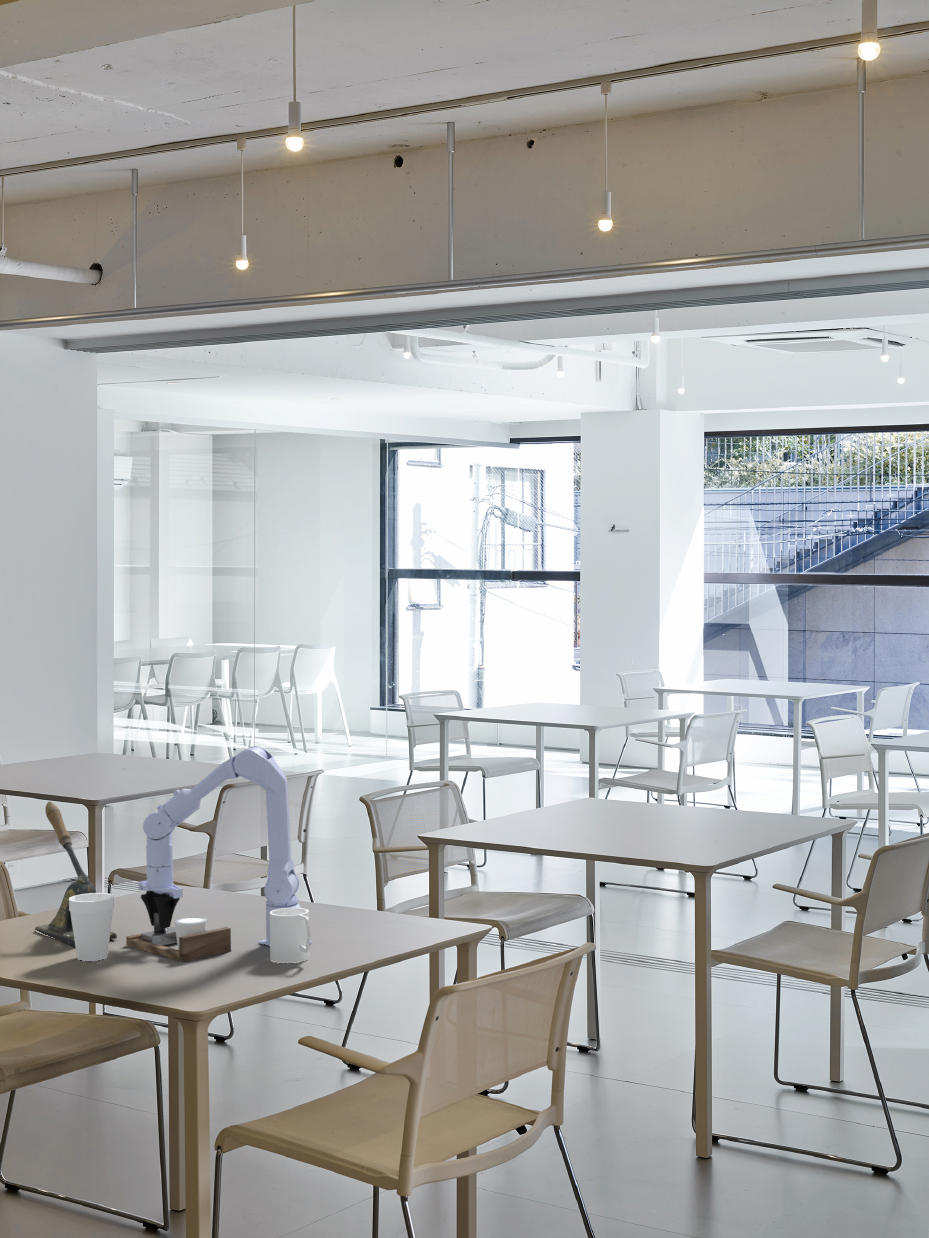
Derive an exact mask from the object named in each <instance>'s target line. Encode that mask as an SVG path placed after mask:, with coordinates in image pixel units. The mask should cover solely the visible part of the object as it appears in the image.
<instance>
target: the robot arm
mask: <svg viewBox="0 0 929 1238" xmlns="http://www.w3.org/2000/svg"><path fill="white" fill-rule="evenodd" d="M239 777H241V778H243V779H245V780H249V781H251V782H254V783H255V784H257V785H258V786H259V787H260V788H262V790H264V791H265V800H266V801H265V803H266V804H265V805H266V820H267V822H266V823H267V825H266V826H267V845H268V867H267V881H266V882H265V885H264V889H263V894H264V897H265V899H266V901H265V929H266V930H265V932H266V933H265V936H266V939H262V940H258V941H257V943H258V944H261V945H264V944H265V946H267V947H270V911H272V910H276V909H281V908H303V907H301V905H300V904H299V898H298V897H297V895H296V893H297V892H298V890H299V887H300V880H299V878H298V875H297V873H296V872H295V863H294V861H293V860H292V848H291V847H292V846H291V844H292V843H291V830H290V829H291V826H290V825H291V824H290V822H291V821H290V805H289V784H288V783H289V782H288V781H289V780H288V778H287V776H286V774H285V773H284V772H283V770H282V769H281V767H280V766H279V764H278V763H277V762H276V760H275V758H274V755H273V753H270V752H269V751H268V750H267V749H265V748H263V747H261V746H259V745H253V746H250V747H248V748H247V749H245V750H242V751H240V752H239V753H237V755H234V756H232V757H231V758H229V759H227V760H225V761H224V762H222V763H220V764H219V765H218V766H217V767H216V768H215V769H214V770H213V771H211V772H210V773H209V774H208V775H207V776H206V777H204V778H203V779H202V780H201V781H199V782H198V783H197V784H196V785H195V786H194V787H192V788H181V790H180V789H176V790H175V791H174V792H173V793H172V795H173V796H172V797H171V798H169V800H168V801H166V802H164V803H163V804H161V803H160V804H159V805H158V806H157V807H156V809H157V811H154V812H151V813H149V814H148V816H147V817H146V818H145V819H144V821H143V824H142V829H143V832H144V834H145V835H146V849H145V850H146V851H145V852H146V855H145V856H146V880H141V881H138V884H137V885H138V886H137V887H138V889H137V890H138V891H139V892H140V891H143V892H144V891H145V893H142V894H141V895H140V899H141V900H142V902H143V904H144V906H145V907H146V910H147V913H148V914H147V915H148V917H149V921H150V925H151V926H152V927H154V912H155V911H158V913H159V923H160V927H161V928H167V927H168V928H171V924H172V919H173V915H174V911H175V909H176V907H177V905H178V902H179V901H180V899H181V898H183V895H184V894H183V892H184V891H183V888H182V887H180V886H177V884H174V861H173V860H174V856H173V848H174V847H173V835H172V834H173V832H174V830H175V828H176V827H178V826H180V824H182V823H183V822H185V821H186V820H187V819H189V817H191V816H192V815H193V814H195V813H196V812H197V811H198V810H199V809H200V807H201V801H202V800H203V798H205V797H206V796H207V795H209V794H210V793H212V792H213V791H214V790H216V788H218V787H219V786H220V785H222V784H224V782H226V781H227V780H232V779H233V780H234V779H238V778H239ZM303 909H305V908H303ZM312 943H313V941H312V940H310V944H312Z"/></svg>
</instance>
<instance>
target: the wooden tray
mask: <svg viewBox="0 0 929 1238" xmlns="http://www.w3.org/2000/svg"><path fill="white" fill-rule="evenodd" d="M170 928H175V927H172V926H170ZM231 930H232V929H231V927H228V926H224V927H220V928H216V929H211V930H206V931H205V932H201V933H196V934H191V935H186V936H182V937H179V950H178V949H176V948H173V947H168V946H166V945H163V946H161V945H158V944H154V943H150V942H147V941H143V940H141V934H143V933H144V932H143V933H138V934H134V935H133V934H132V935H128V936H125V937H126V938H125V940H126V941H125V943H126V944H125V945H126V947H129V948H130V947H131V948H133V949H137V950H140V951H144V952H147V953H152V954H155V955H158V956H161V957H165V958H169V959H172V960H176V961H180V962H183V963H184V962H190V961H193V960H199V959H202V958H206V957H207V958H208V957H211V956H215V955H220V954H224V953H229V952H232V933H231V932H232V931H231ZM148 932H149V931H147V932H146V933H148Z"/></svg>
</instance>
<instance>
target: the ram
mask: <svg viewBox="0 0 929 1238" xmlns="http://www.w3.org/2000/svg"><path fill="white" fill-rule="evenodd" d="M147 932H148V933H147ZM147 932H143V934H142V933H140V934H141V940H143V941H147V942H150V943H154V944H158V945H161V946H167V945H171V944H175V943H176V944H177V937H176V928H175V927H174V928H171V927H167V928H161V927H160V923H159V913H158V911H155V912H154V926H153V930H152V931H147Z"/></svg>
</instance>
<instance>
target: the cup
mask: <svg viewBox="0 0 929 1238" xmlns="http://www.w3.org/2000/svg"><path fill="white" fill-rule="evenodd" d="M309 913H310V911H309V909H307V908H304V909H303V907H302V908H281V909H276V910H272V911H270V946H269V954H270V955H269V956H270V957H269V959H271V960H273V961H277V962H281V963H282V962H285V963H287V962H288V963H291V962H297V961H302V960H306V959H308V958H309V959H310V949H311V948H310V947H311V943H310V941H311V925H310V919H309V918H310V917H309ZM271 960H270V961H271Z"/></svg>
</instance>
